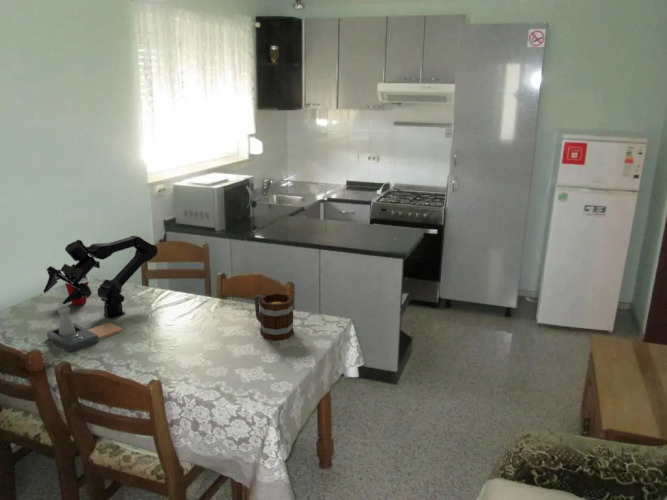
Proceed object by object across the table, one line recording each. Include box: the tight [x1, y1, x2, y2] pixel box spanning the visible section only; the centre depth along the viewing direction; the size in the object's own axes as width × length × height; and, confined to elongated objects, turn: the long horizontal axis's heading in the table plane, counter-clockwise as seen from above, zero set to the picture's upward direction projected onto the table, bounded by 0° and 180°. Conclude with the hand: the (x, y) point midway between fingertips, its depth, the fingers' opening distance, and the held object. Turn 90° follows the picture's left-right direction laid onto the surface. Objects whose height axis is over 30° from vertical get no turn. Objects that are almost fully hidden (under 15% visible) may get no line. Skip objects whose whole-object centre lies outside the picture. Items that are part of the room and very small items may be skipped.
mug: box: [254, 292, 295, 342], centre depth 219 cm, size 20×14×15 cm
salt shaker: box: [57, 305, 75, 337], centre depth 212 cm, size 6×6×13 cm
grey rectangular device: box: [46, 322, 99, 353], centre depth 211 cm, size 11×18×3 cm, turn 52°
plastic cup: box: [63, 275, 90, 307], centre depth 246 cm, size 11×11×12 cm
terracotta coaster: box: [87, 322, 124, 340], centre depth 219 cm, size 10×10×1 cm
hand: (53, 297), depth 211 cm, fingers open, 9 cm apart
